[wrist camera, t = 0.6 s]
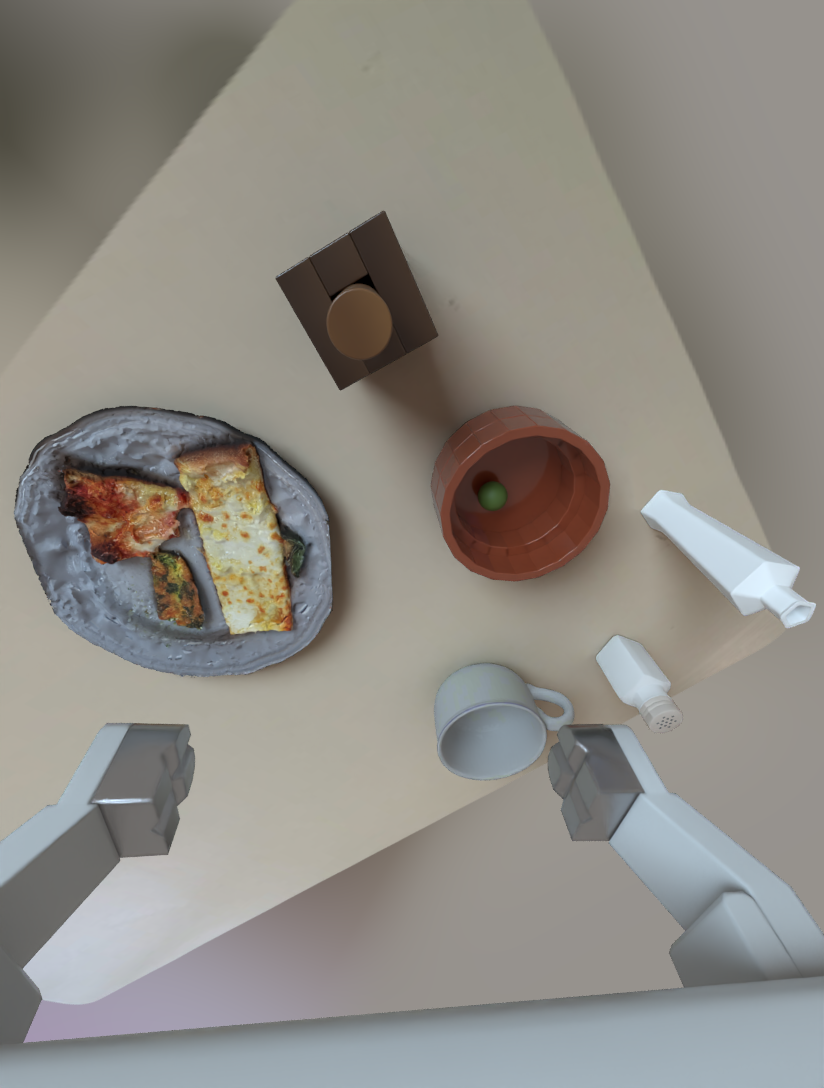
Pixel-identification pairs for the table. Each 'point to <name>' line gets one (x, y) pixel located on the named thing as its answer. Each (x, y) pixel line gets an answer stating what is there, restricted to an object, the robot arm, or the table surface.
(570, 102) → the table surface
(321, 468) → the table surface
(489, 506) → the bead
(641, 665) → the salt shaker
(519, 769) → the teacup
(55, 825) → the robot arm
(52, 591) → the food plate
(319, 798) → the table surface
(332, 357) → the utensil block
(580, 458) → the bowl
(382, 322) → the stirring stick
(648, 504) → the white faceted bottle
